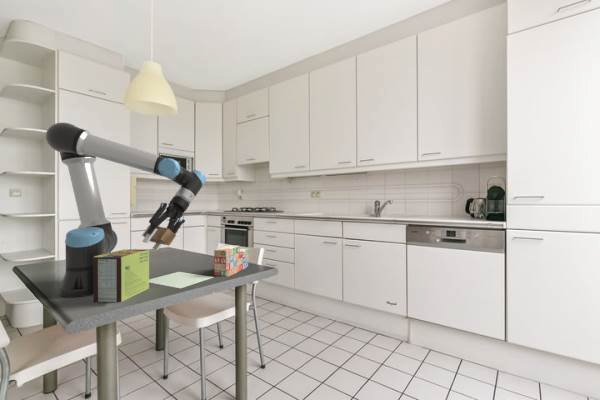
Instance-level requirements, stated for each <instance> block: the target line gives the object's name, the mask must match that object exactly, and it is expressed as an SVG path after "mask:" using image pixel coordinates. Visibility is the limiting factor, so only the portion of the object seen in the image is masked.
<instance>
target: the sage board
mask: <svg viewBox="0 0 600 400" xmlns="http://www.w3.org/2000/svg"><path fill="white" fill-rule="evenodd" d="M214 278H215V277H214V276H209V275H202V274H196V273H187V272H182V271H176V272H173V273H169V274H164V275H161V276H158V277H153V278H149V284H150V283H151V284H156V285H161V286H165V287H171V288H176V289H183V288H186V287H188V286H192V285H195V284H198V283H201V282H203V281H208V280H211V279H214Z"/></svg>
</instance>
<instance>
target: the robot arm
mask: <svg viewBox="0 0 600 400" xmlns="http://www.w3.org/2000/svg"><path fill="white" fill-rule="evenodd" d="M45 139H46V142H47V145H49V146H50V147H51V148H52V149H53V150H54V151H56V152H59V155H60V159H61V163H62V164H64V165H66V166H67V168H68V173H69V177H70V181H71V185H72V186H71V187H72V189H73V191H72V192H73V195H74V198H75V203H76V207H77V213H78V217H79V220H80V224H79V225H78V227H77V228H74V229H71V230H69V231H68V232H67V233H66V234H65V240H64V243H65V273H64V276H63V280H62V282H61V285H60V287H59V296H60V297H63V298H79V297H85V296H87V297H88V296H92V295H93V257H95V256H99V255H103V254H107V253H110V252H113V250H114V249H115V248H116V246H117V244H118V235H117V233H116V231H115V230H113V228H112V222H111V220H108V219H107V218H106V215H105V210H104V205H103V201H102V198H101V193H100V188H99V184H98V179H97V175H96V171H95V166H94V163H95V162H96V161H97V158H100V159H103V160H106V161H109V162H113V163H116V164H121V165H123V166H127V167H130V168H134V169H137V170H140V171H143V172H147V173H151V174H153V175H154V174H155V175H157V176H159V177H164V178H167V179H168V180H171V181H172V182H174V183H176V184H178V185H179V186H180V187H179V189H178V190H177V191H176V193H175V194H174V196H172V198H171V200H170V201H169V203H167V202H161V203H160V205H159V207H158V209H157V210H156V211H155V213H154V214H153V215H152V217H151V218H150V219H149V221H148V223H149V225H150V228H149V230H148V231H147V233H148V234H147V235H146V237H143V239H142V242H143V243H146V244H148V243H149V242H150V239H151V238H152V236H153V235H154V233H155V232H156V231H157V228H156V227H160V225H161V224H162V223H163V222H165V220H166V219H168V218H169V219H168V224H167V226H166V228H168V229H170V230H171V231H172V232H173V233H174V234H176V235H177V233H178V231H179V229H180V228H181V226H182V225H183V224H184V223H186V220H185V219H184V218H183V214H184V213H185V212H186V211H187V210H188V208H189V207H190V204H192V203H193V201H194V199H195V198H196V197H197V195H198V194H199V192H200V191H201V190H202V188H203V186H204V184H205V182H206V181H207V177H206V175H205V174H204V173H203V172H202V171H201V170H198V169H194V170H193V169H192V171H189V170H188V169H186V168H184V167H183V166H181V165H180V164H179V162H178V161H177V160H175V159H174V158H170V157H169V158H168V157H166V156H165V157H164V156H160V155H159V154H155V153H151V152H148V151H145V150H142V149H138V148H135V147H132V146H129V145H126V144H123V143H119V142H115V141H113V140H110V139H106V138H103V137H99V136H97V135H94V134H91V132H90V131H89V130H86V129H84V128H80V127H78V126H76V125H74V124H72V123H68V122H58V123H54V124H52V125H50V126H49V127H48V129H47V130H46V132H45ZM162 245H163V244H159V243H154V246H153V247H152V250H154V251H159V249H160V248H161V246H162Z"/></svg>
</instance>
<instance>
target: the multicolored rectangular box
mask: <svg viewBox="0 0 600 400" xmlns="http://www.w3.org/2000/svg"><path fill="white" fill-rule="evenodd" d="M213 251H214V253H213V254H214V257H213V259H214V260H213V263H214V264H213V265H214V270H213V271H214V272H213V274H214V275H213V276H223V277H230V276H233V275H235V274H237V273H239V272H241V271H243V270H245V269H247V268H249V260H250V259H249V248H240V245H226V246H222V247H220V248H216V249H214V250H213Z"/></svg>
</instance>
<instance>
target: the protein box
mask: <svg viewBox="0 0 600 400" xmlns="http://www.w3.org/2000/svg"><path fill="white" fill-rule="evenodd" d="M149 279H150V250H149V249H145V248H144V249H142V248H141V249H137V248H135V249H134V248H133V249H131V248H129V249H128V248H125V249H120V250H115V251H111V252H110V253H107V254H103V255H99V256H95V257H93V294H92V295H93V301H92V302H93V303H98V304H99V303H101V304H107V303H110V302H114V303H116V302H117V303H118V302H119V303H122V302H124V301H126V300H128V299H130V298H132V297H134V296H136V295H138V294H141V293H142V292H144V291H146V290H149V289H150V283H149Z"/></svg>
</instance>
